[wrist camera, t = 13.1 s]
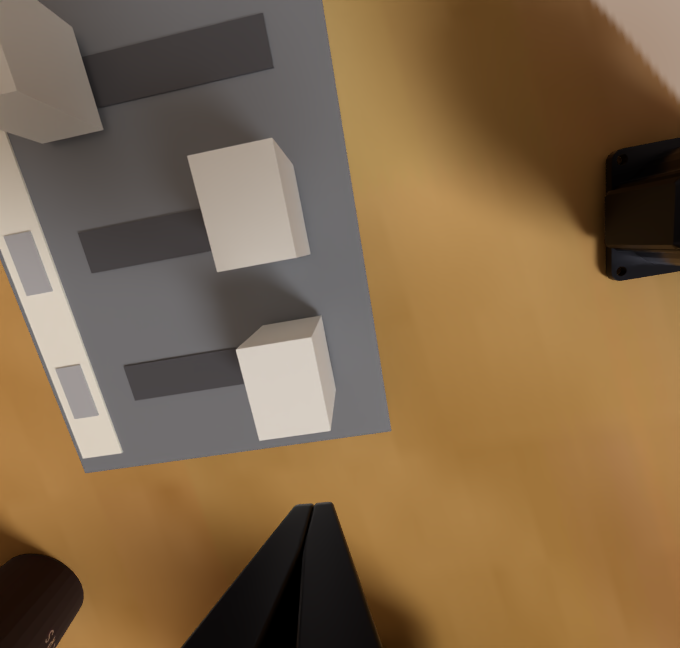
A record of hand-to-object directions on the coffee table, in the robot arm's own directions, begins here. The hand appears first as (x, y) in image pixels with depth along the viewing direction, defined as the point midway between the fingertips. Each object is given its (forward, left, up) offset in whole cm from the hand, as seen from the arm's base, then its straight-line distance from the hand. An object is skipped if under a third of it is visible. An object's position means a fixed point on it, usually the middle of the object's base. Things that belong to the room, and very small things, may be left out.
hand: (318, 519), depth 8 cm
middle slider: (+2, -8, -10) cm, 13 cm away
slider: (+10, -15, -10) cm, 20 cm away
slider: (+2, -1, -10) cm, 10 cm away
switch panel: (+7, -8, -13) cm, 16 cm away
